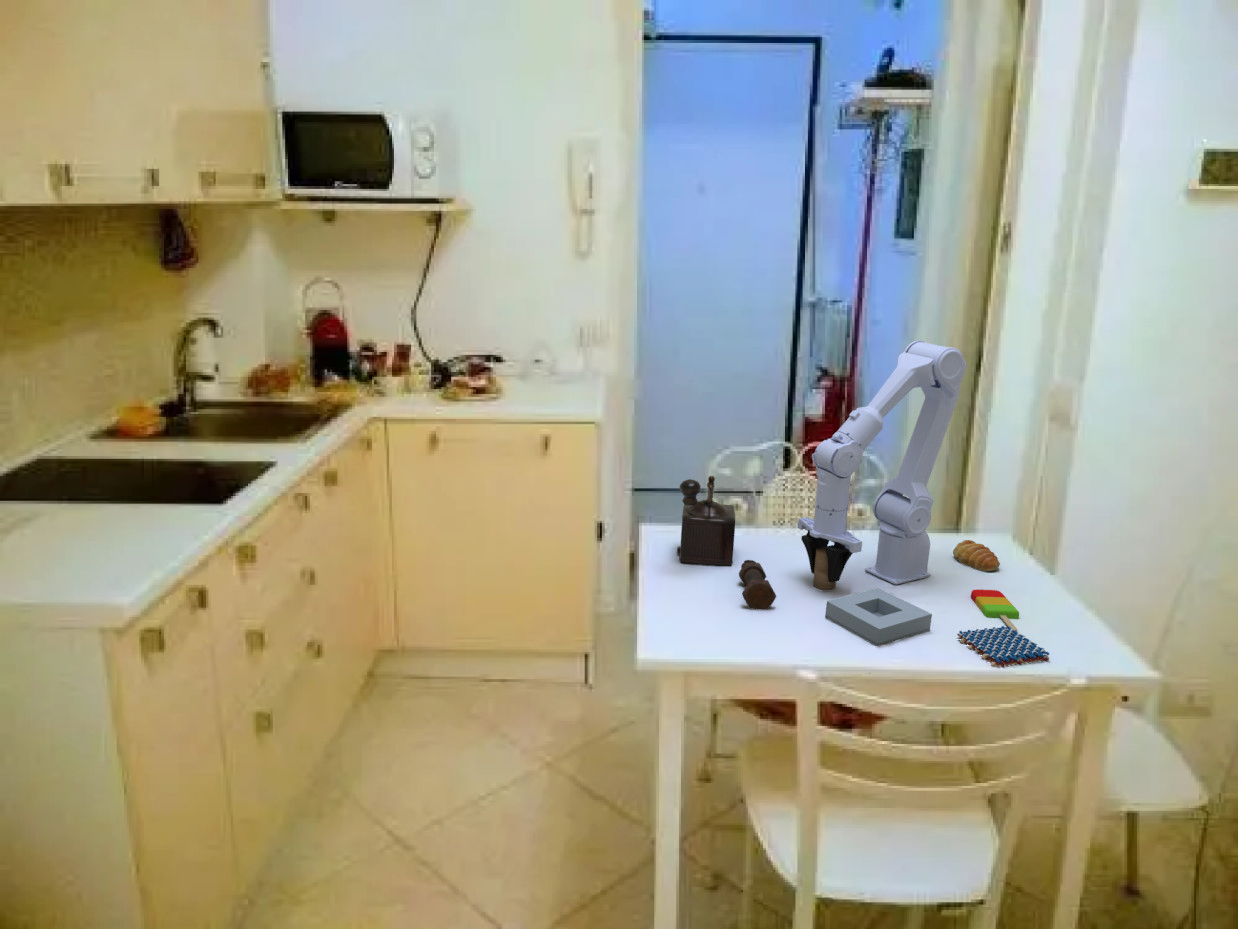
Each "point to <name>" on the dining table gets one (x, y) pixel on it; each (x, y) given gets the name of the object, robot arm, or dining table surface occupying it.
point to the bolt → (756, 586)
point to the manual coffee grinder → (705, 527)
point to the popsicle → (995, 606)
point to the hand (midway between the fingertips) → (825, 576)
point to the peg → (822, 571)
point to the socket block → (878, 616)
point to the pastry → (976, 556)
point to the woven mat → (1003, 646)
